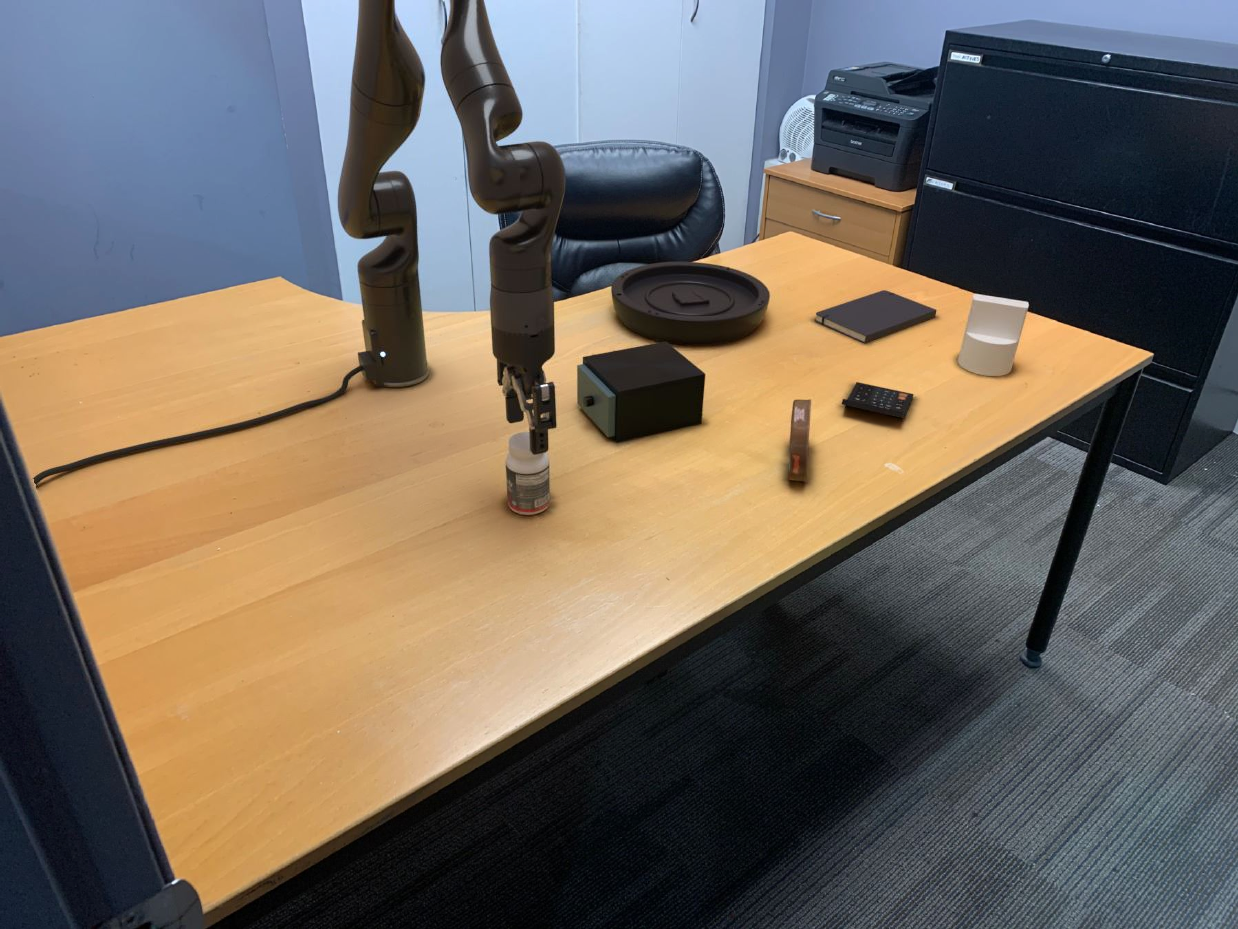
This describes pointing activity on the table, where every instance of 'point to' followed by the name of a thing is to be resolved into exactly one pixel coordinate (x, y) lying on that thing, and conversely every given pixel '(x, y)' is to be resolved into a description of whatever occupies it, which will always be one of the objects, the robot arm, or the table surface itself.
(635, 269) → the round tray
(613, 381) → the cabinet
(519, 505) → the pill bottle
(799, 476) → the tin
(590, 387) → the drawer
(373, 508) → the table surface
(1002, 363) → the cylinder with rectangular tab
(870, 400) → the calculator
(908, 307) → the notebook
